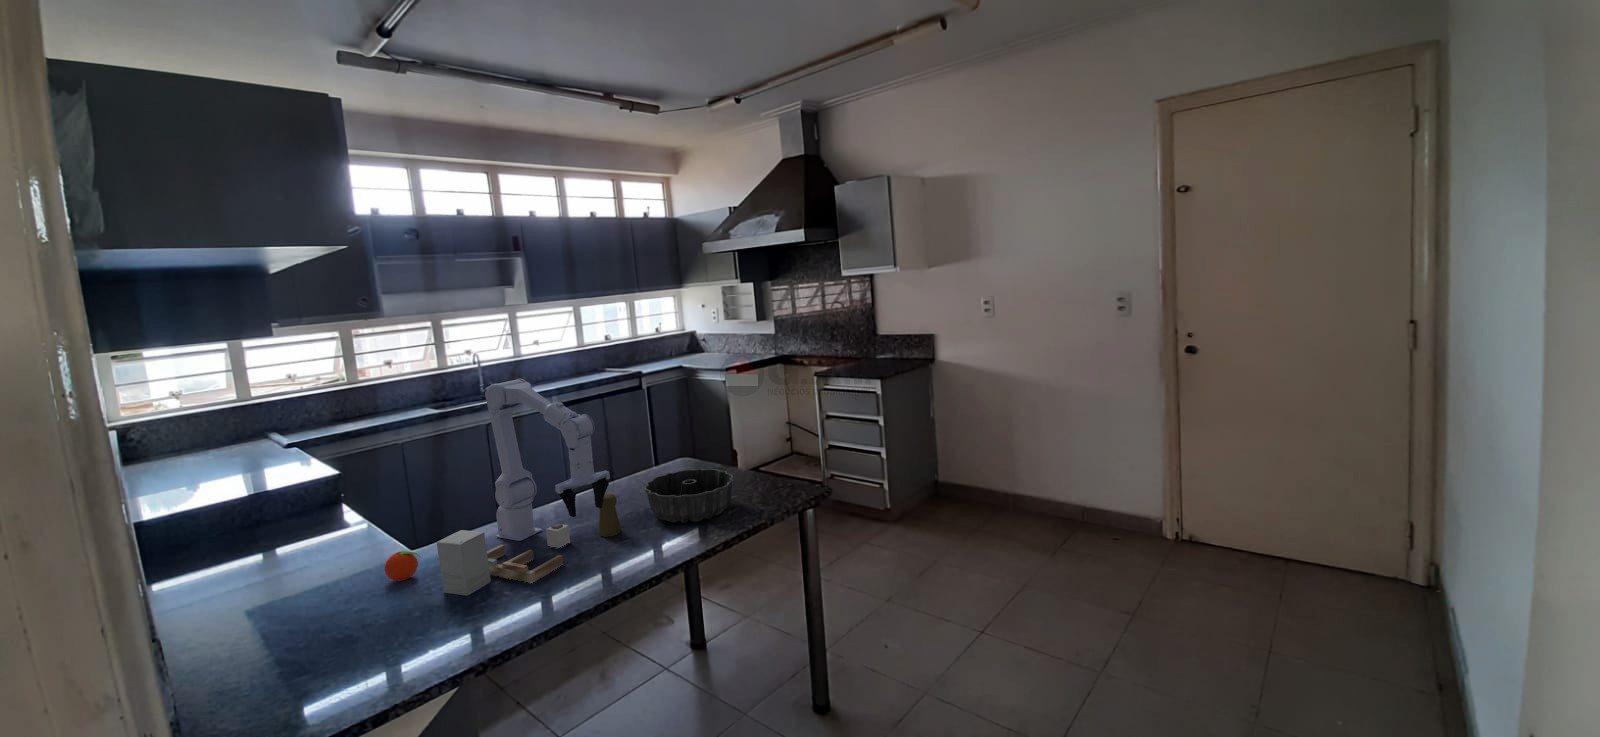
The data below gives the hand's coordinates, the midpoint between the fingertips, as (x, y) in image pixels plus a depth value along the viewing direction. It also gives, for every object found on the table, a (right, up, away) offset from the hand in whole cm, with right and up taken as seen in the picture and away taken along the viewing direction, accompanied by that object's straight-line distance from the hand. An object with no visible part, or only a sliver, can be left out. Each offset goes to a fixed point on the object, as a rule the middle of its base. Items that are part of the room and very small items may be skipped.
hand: (586, 511), depth 170 cm
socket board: (-14, -12, -9) cm, 21 cm away
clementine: (-40, -14, -13) cm, 44 cm away
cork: (+3, -8, +10) cm, 14 cm away
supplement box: (-22, -14, -18) cm, 32 cm away
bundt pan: (+24, -6, +23) cm, 34 cm away
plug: (-9, -10, +4) cm, 14 cm away
